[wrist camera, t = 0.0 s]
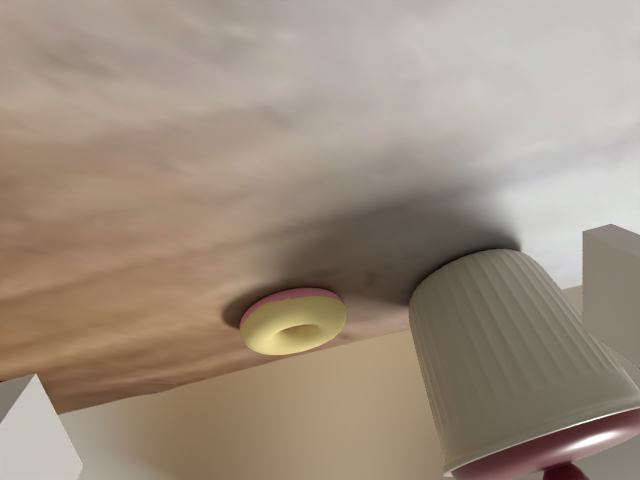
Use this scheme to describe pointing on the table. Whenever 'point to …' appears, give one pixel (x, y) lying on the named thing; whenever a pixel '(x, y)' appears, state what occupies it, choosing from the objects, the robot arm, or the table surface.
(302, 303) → the donut
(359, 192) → the table surface
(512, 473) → the canister
